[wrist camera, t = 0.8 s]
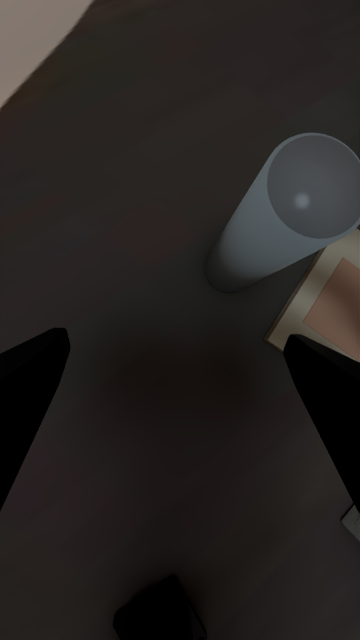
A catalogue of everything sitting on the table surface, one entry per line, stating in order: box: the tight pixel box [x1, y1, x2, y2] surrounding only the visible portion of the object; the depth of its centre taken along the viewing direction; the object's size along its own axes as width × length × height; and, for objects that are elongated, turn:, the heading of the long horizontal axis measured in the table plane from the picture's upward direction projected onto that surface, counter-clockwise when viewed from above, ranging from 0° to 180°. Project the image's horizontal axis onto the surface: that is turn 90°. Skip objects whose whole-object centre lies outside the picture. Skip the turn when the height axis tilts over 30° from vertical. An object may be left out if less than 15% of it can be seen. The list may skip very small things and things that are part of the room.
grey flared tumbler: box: [204, 133, 360, 293], centre depth 16 cm, size 5×5×13 cm
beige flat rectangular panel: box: [263, 228, 360, 362], centre depth 23 cm, size 15×12×1 cm
